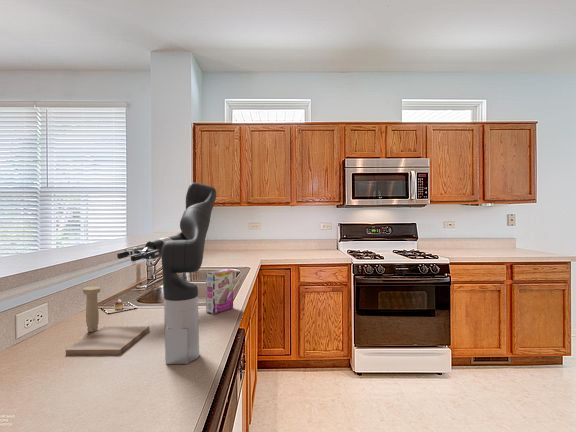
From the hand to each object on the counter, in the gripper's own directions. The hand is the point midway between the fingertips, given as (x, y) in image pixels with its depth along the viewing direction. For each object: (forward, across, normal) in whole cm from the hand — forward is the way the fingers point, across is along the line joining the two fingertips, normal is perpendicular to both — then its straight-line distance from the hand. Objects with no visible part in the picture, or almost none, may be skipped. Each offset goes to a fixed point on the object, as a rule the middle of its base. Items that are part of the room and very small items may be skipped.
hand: (124, 257), depth 131 cm
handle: (+15, +1, +23) cm, 27 cm away
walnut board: (+18, +16, +21) cm, 32 cm away
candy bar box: (-25, +23, +27) cm, 43 cm away
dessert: (-6, -18, +27) cm, 33 cm away
